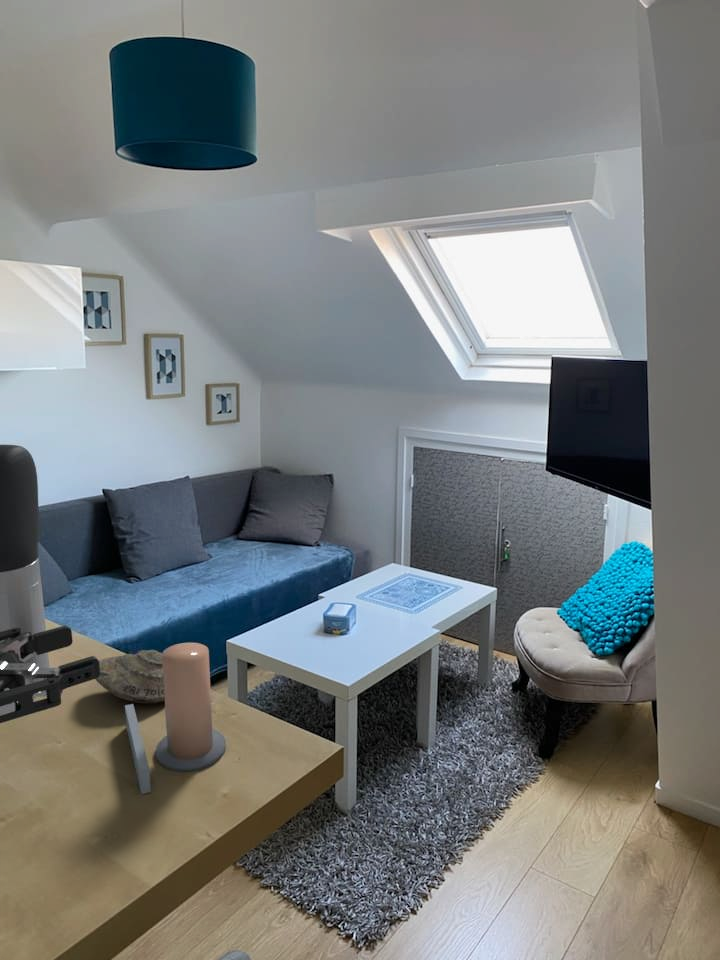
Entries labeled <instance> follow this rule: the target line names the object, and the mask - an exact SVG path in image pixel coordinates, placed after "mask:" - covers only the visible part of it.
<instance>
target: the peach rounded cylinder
mask: <svg viewBox="0 0 720 960" xmlns="http://www.w3.org/2000/svg"><path fill="white" fill-rule="evenodd" d="M161 653H162V666H163V682H164V698H165V701H164V712H165V725H166V726H165V727H166V729H165V730H166V736H167V746H168V753H169V754H170V755H171V756H172V757H174V758H177V759H183V760H189V759H195V758H199V757H201V756H203V755H205V754H207V753H208V752H209V751H210V750H211V749H212V747H213V733H212V729H213V719H212V717H213V716H212V715H213V714H212V697H211V696H212V695H211V694H212V693H211V692H212V691H211V673H210V650H209V647H208V646H206V644H205V645H204V644H202V643H199V642H182V643H176V644H174V645H171V646H168V647H167V648H165V649H164V650H163V651H162V652H161Z"/></svg>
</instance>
